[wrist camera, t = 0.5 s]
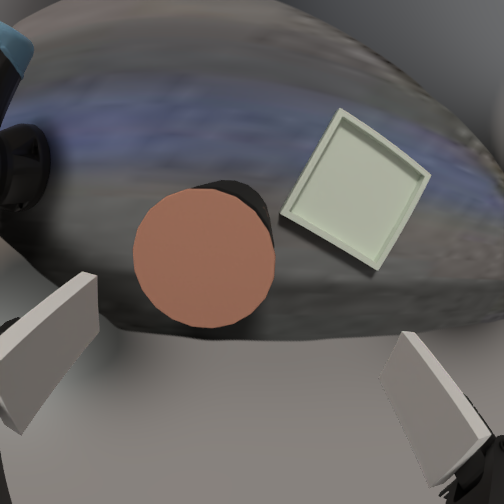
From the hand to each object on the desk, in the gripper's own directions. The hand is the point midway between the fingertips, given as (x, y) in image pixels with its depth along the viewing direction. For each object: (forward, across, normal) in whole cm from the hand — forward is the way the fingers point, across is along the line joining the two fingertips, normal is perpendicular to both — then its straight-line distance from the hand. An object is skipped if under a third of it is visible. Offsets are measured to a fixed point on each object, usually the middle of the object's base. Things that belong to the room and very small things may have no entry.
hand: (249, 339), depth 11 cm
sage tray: (+27, +13, +7) cm, 31 cm away
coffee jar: (+28, -3, -1) cm, 28 cm away
